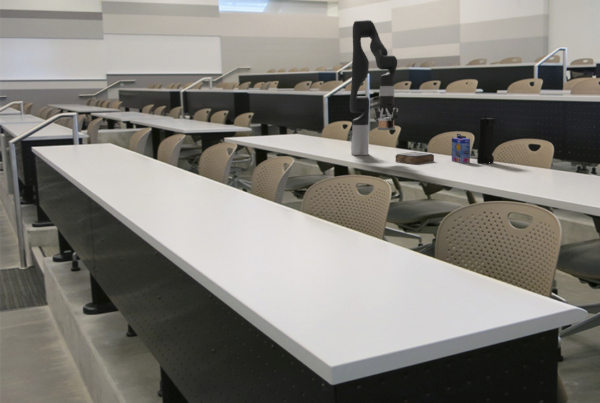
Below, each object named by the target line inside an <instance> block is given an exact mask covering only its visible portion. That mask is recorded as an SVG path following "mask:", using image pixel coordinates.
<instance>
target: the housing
mask: <svg viewBox="0 0 600 403" xmlns="http://www.w3.org/2000/svg"><path fill="white" fill-rule="evenodd" d="M377 121H378V127H377V130H378V131H391V130H395V129H396V126H395V120H394V121H393V128H389V121H390V120H389V117H388V116H387V117H386V116H385V117H384V118H378V119H377Z"/></svg>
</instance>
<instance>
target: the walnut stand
mask: <svg viewBox="0 0 600 403" xmlns="http://www.w3.org/2000/svg"><path fill="white" fill-rule="evenodd" d="M395 162H396V163H405V164H412V165H420V164H425V163H426V162H427V163H433V162H435V155H434V154H433V153H427V152H418V151H417V152H416V151H412V152H401V153H397V154H396V155H395Z"/></svg>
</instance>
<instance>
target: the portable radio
mask: <svg viewBox="0 0 600 403" xmlns="http://www.w3.org/2000/svg"><path fill="white" fill-rule="evenodd" d="M495 124H496V118H494V117H487V113H485V116H484V117H481V118H479V129H478V130H479V131H478V136H479V138H478V139H479V140H478V147H477V157H476V158H477V159H476V162H477V164H480V163H489V162H493V163H494V162H495V161H494V158H495V157H494V156H493V151H494V150H493V148H494V145H493V144H494V125H495Z"/></svg>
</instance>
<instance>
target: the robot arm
mask: <svg viewBox="0 0 600 403" xmlns="http://www.w3.org/2000/svg"><path fill="white" fill-rule="evenodd" d="M365 38H370V39H371V40H370V44H369V49H370V52H371V53H372V55H373V56H374V58H375V63H376V67H377V68H378V69H379V70H383V71H384V70H387V72H386V73H384V74H381V75H380V77H379V92H378V93H379V101H378V102H379V107H375V108H374V112H375V117H376V118H375V119H377V120H378V118H386V116H387V117H389V120H390V121H389V128H393V121H394V122H395V120H398V119H397V118H398V117H399V116H398V115H399V111H400V109H399V108H398V107H395V106H394V104H395V88H394V87H395V83H394V82H395V80H394V78H395V75H396V70H397V67H398V58H397V57H396V56H395V55H389V52H388V50H387V48H386V47H385V45H384V44H383V42H382V41H381V38H380V35H379V33H378V30H377V28H376V26H375V24H374V22H373V21H372V20H370V19H363V20H361V19H360V20H355V21H354V22H353V24H352V62H351V85H350V96H349V111H350V112H351V113H354V114H356V113H357V114H358V113H361V115H359V116H358V117H355V118H354V119H352V127H351V128H352V132H351V133H352V137H351V138H350V139H351V142H350V143H351V145H350V147H351V148H350V149H351V152H350V153H351V155H352V156H353V155H354V156H367V155H369V148H370V147H369V146H370V145H369V142H370V141H369V132H370V131H369V122H370V121H369V119H370V118H369V117H370V115H369V114H370V98H369V97H368V96H366V95H364V96H363V95H360V96H359V95H358V92H359V90H360V88H361V86H362V84H363V83H364V82H365V80H366V79H367V77H368V75H369V68H370V67H369V66H370V61H369V59H368V57H367V54H366V53H365V52H364V49H363V47H362V42H361V41H362V40H361V39H365Z"/></svg>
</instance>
